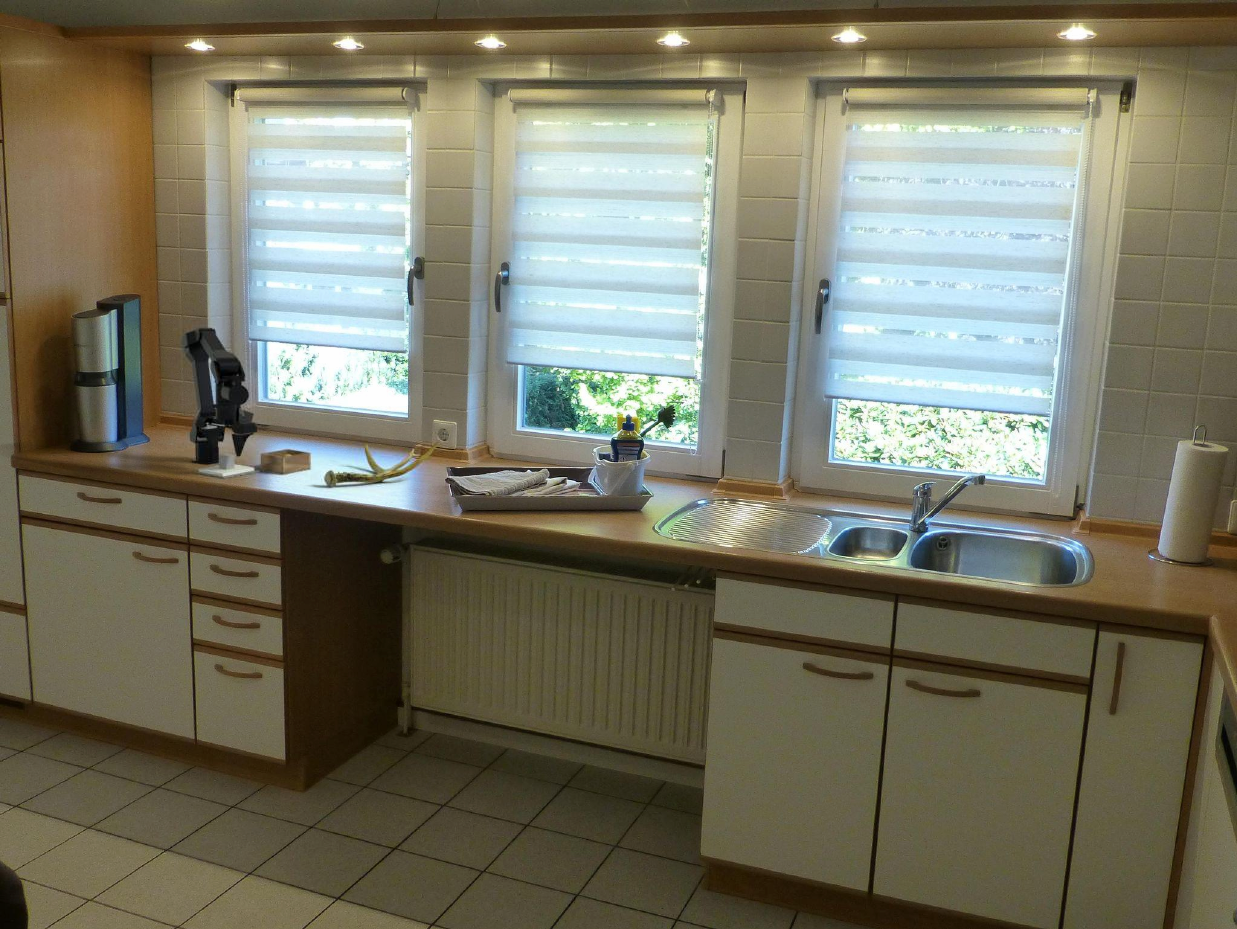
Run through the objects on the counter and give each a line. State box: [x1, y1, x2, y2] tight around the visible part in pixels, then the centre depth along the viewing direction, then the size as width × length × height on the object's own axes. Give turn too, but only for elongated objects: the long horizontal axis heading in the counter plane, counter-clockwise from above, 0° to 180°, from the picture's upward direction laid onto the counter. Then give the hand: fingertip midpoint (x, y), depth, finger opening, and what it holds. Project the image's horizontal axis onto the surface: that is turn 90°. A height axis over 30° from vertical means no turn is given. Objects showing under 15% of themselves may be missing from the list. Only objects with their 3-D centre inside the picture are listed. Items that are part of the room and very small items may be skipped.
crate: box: [260, 448, 312, 476], centre depth 322 cm, size 9×11×5 cm
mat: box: [194, 469, 260, 479], centre depth 314 cm, size 12×13×1 cm
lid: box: [198, 453, 255, 476], centre depth 314 cm, size 10×12×5 cm
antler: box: [324, 440, 441, 488], centre depth 314 cm, size 27×32×10 cm
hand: (227, 454), depth 313 cm, fingers open, 9 cm apart
